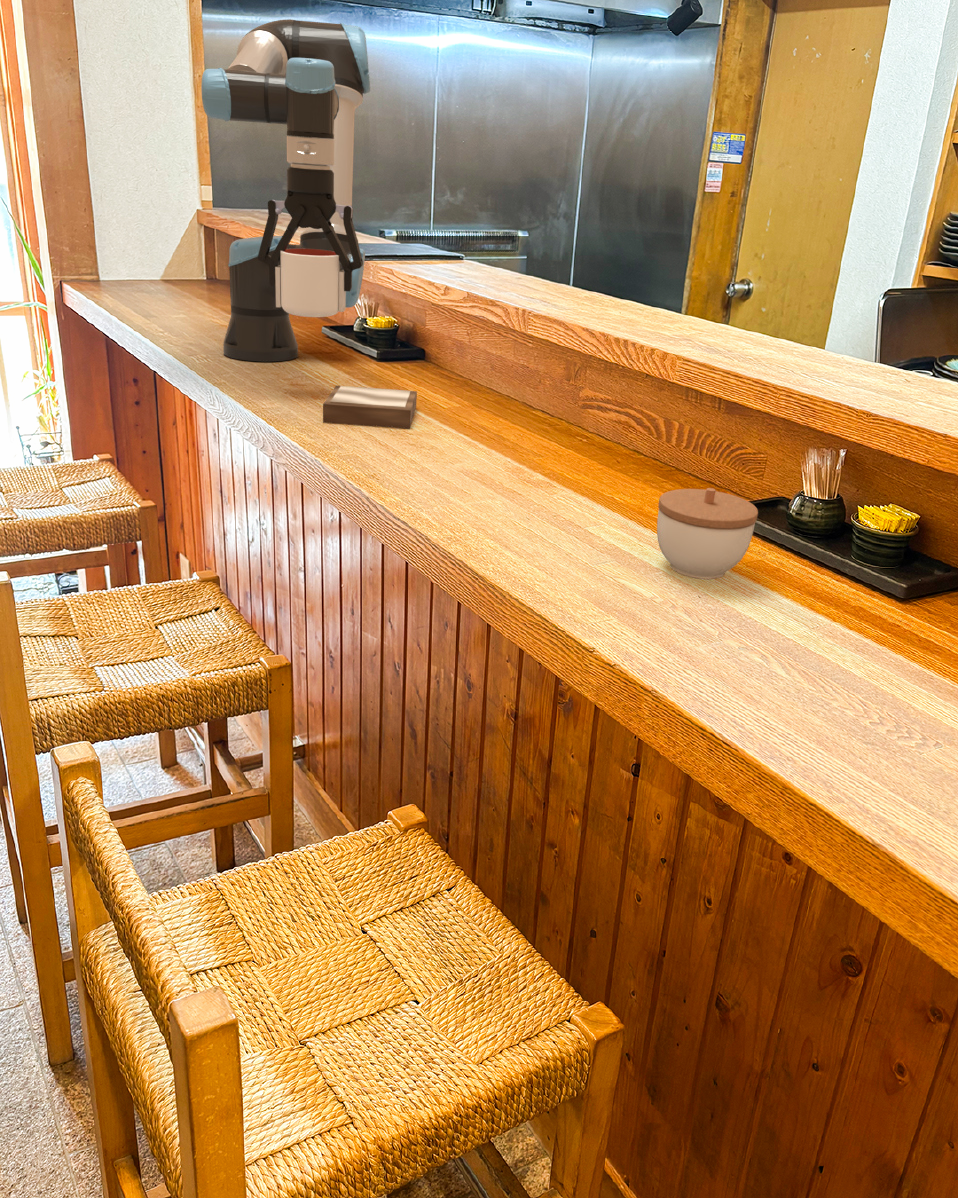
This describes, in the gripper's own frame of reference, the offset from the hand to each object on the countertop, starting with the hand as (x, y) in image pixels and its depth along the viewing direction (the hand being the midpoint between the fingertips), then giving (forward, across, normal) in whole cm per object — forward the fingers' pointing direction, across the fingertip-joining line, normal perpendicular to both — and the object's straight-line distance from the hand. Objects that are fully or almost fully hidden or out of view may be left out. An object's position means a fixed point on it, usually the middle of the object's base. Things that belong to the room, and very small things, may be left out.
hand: (310, 308), depth 168 cm
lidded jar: (+14, +56, -71) cm, 91 cm away
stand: (+15, +12, -12) cm, 22 cm away
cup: (+1, 0, 0) cm, 1 cm away
